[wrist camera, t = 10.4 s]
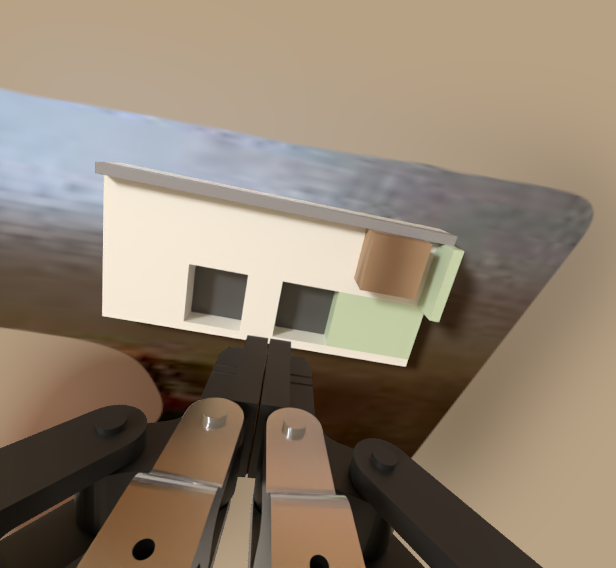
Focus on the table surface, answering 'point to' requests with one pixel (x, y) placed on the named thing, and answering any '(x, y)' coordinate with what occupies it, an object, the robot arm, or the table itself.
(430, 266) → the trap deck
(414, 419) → the table surface
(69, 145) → the table surface
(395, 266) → the walnut block
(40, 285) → the table surface
